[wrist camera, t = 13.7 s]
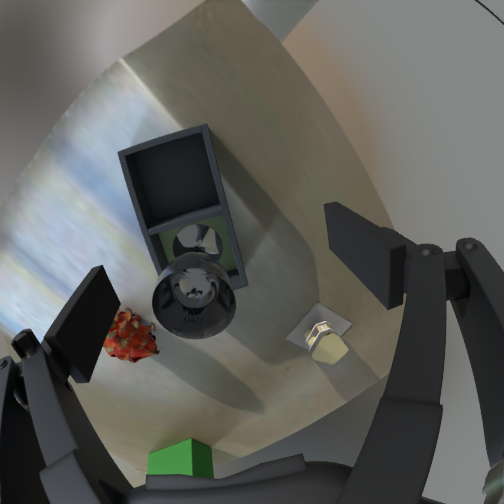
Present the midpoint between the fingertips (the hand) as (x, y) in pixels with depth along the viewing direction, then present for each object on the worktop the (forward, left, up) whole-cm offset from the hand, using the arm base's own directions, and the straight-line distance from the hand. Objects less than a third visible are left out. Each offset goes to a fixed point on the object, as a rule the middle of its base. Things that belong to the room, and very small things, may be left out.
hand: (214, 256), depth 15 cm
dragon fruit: (+19, +17, -24) cm, 35 cm away
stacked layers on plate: (-12, +29, -24) cm, 40 cm away
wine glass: (+4, +8, -23) cm, 25 cm away
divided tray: (+4, +2, -24) cm, 24 cm away
